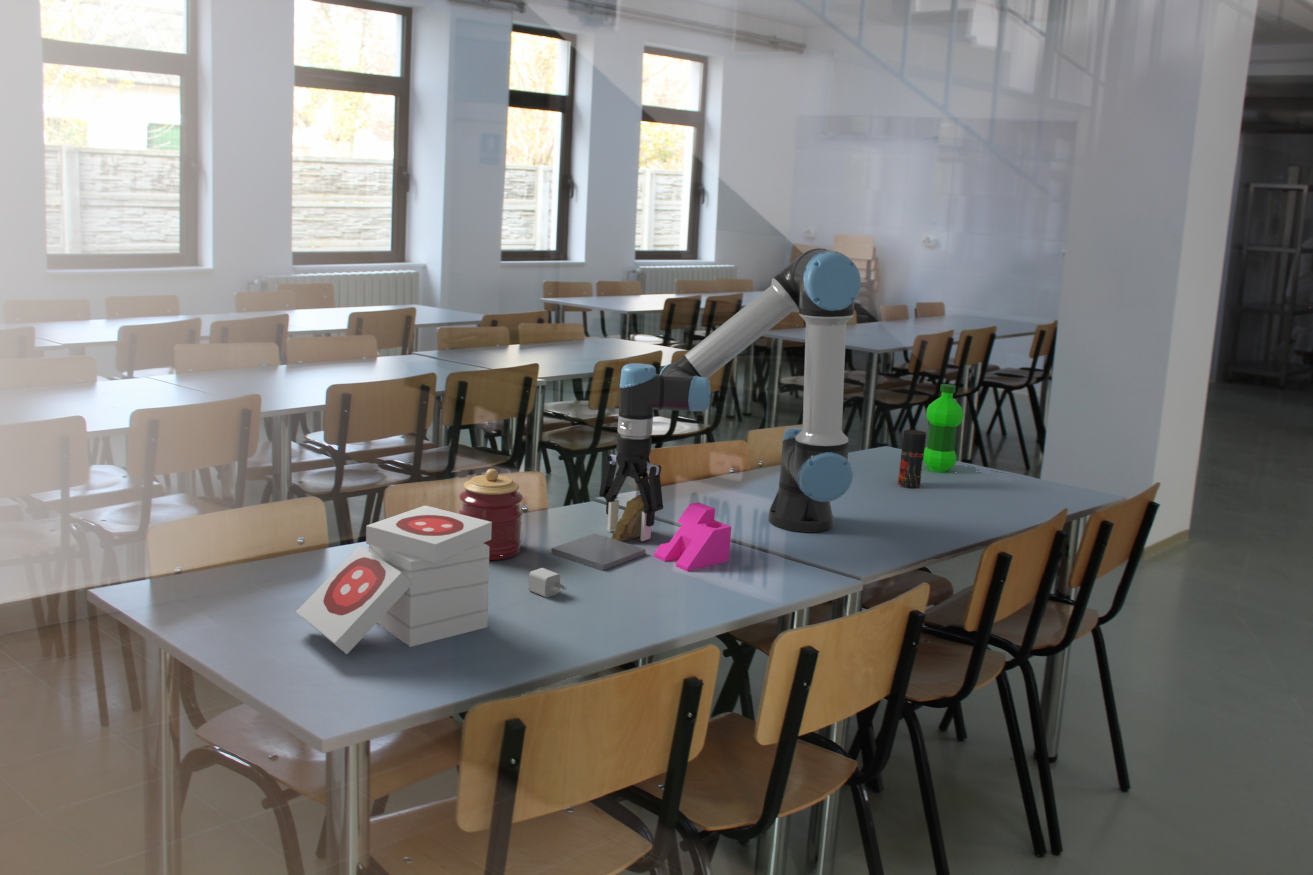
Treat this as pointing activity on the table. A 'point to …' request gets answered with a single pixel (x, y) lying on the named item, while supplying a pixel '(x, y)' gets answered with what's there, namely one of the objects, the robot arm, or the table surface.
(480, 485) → the canister
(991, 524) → the table surface
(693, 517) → the bracket
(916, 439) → the deodorant
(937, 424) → the plastic bottle
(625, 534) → the rock
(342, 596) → the pizza boxes
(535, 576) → the usb wall charger
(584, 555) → the slate board
